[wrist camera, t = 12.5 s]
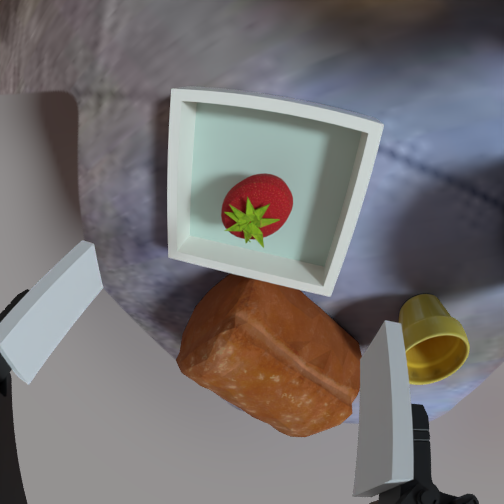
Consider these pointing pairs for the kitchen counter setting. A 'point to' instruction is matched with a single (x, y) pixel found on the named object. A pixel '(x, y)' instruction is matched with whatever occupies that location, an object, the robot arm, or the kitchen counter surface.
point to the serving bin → (270, 162)
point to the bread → (272, 355)
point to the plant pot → (431, 340)
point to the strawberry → (257, 207)
